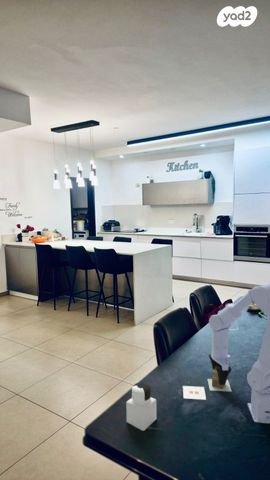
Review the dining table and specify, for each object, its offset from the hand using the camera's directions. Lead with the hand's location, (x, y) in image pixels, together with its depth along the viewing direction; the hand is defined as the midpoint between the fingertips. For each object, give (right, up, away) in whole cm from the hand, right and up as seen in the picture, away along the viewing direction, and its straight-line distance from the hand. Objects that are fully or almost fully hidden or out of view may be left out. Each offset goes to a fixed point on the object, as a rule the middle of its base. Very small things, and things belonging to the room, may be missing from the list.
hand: (219, 378), depth 121 cm
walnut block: (0, -3, 0) cm, 3 cm away
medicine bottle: (-30, -6, -19) cm, 36 cm away
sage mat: (0, -3, 0) cm, 3 cm away
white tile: (-11, -4, -4) cm, 12 cm away
